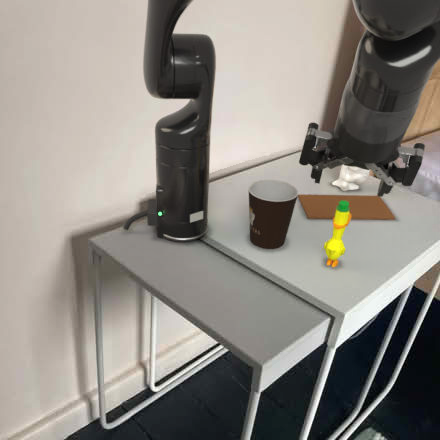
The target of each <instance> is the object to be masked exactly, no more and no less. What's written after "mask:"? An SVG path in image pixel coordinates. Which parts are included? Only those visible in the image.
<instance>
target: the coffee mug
mask: <svg viewBox="0 0 440 440" xmlns="http://www.w3.org/2000/svg"><path fill="white" fill-rule="evenodd" d="M298 195H299V190H298V189H297V188H296V187H295V186H294V185H292V184H291V183H288V182H286V181H281V180H275V179H263V180H257V181H254V182H252V183H251V184H249V186H248V212H249V213H248V217H249V241H250V243H251V244H252V245H253V246H255V247H257V248H260V249H263V250H277V249H280V248H281V247H284V245H285V243H286V239H287V236H288V232H289V228H290V226H291V225H290V224H291V221H292V217H293V214H294V210H295V206H296V203H297V199H298Z"/></svg>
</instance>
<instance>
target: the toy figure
mask: <svg viewBox="0 0 440 440" xmlns="http://www.w3.org/2000/svg"><path fill="white" fill-rule="evenodd" d="M348 206H349V202H347V201H340V202H339V205H338V206H337V207H336V213H335V217H334V218H333V219H332V224H333V225H332V237H331V238H329V239H328V240H327V241H325V242H324V244H323V250H324V252H325V254H326V257H327V260H326V266H328V267H329V266H331V268H335V267H337V266H338V265H339V258H340V257H342V256H344V255H345V253H346V250H347V248H346V247H345V243H344V241H343V240H342V239H343V235H344V234H345V231H346V228H347V227H348V226H349V224H350V222H351V220H352V219H351V217H352V216H351V213H349V210H350V208H349V207H348Z"/></svg>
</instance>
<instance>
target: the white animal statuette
mask: <svg viewBox="0 0 440 440" xmlns="http://www.w3.org/2000/svg"><path fill="white" fill-rule="evenodd" d="M370 173H371V169H369V170H366V169H362V168H359V167H352V166H346V165H344V164H343V165H341V168H340V169H339V174H338V175H339V176H338V179H336V180H334V181H332V182H331V185H332V186H335V187H338V188H340V189H341V191H342V192H344V191H345V192H346V191H355V190H358V189H360V186H359V185H358V184H362V183H364V182H365V181H366V180H367V179H368V178H369V175H370Z"/></svg>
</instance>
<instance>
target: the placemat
mask: <svg viewBox="0 0 440 440" xmlns="http://www.w3.org/2000/svg"><path fill="white" fill-rule="evenodd" d="M297 198H298V200H299V202H300V204H301V206H302V208H303V211H304V213H305V216H306V218H307V219H308V220H333V218H334V217H335V213H336V207H337V206H338V205H339V202H340V201H347V202H349V206H348V207H349V208H350V210H349V213H351V216H352V217H351V220H379V221H380V220H383V221H384V220H386V221H387V220H389V221H393V220H396V217H395V215H394V214H393V212H392V211H391V209H390V208H389V207H388V205H387V204H386V203H385V201H384V199H382V197H381V196H377V195H358V194H357V195H354V194H353V195H351V194H350V195H349V194H348V195H347V194H345V195H344V194H298V196H297Z"/></svg>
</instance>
